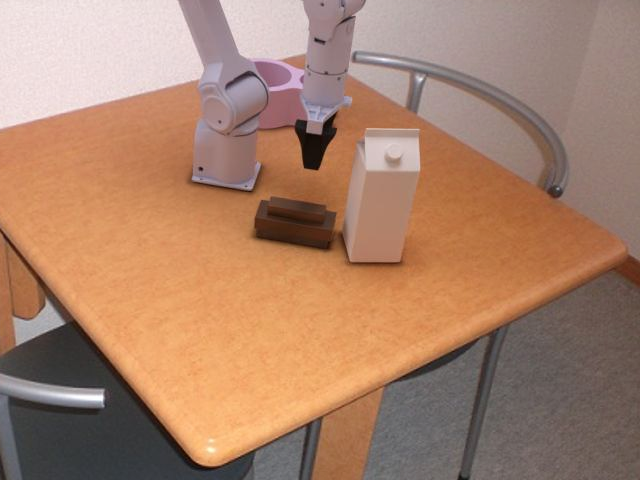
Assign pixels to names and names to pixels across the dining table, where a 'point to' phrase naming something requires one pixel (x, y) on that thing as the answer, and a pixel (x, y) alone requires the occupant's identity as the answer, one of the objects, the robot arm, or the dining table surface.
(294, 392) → the dining table surface
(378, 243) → the milk carton
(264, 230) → the brush
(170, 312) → the dining table surface
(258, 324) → the dining table surface
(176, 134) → the dining table surface
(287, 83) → the clip
